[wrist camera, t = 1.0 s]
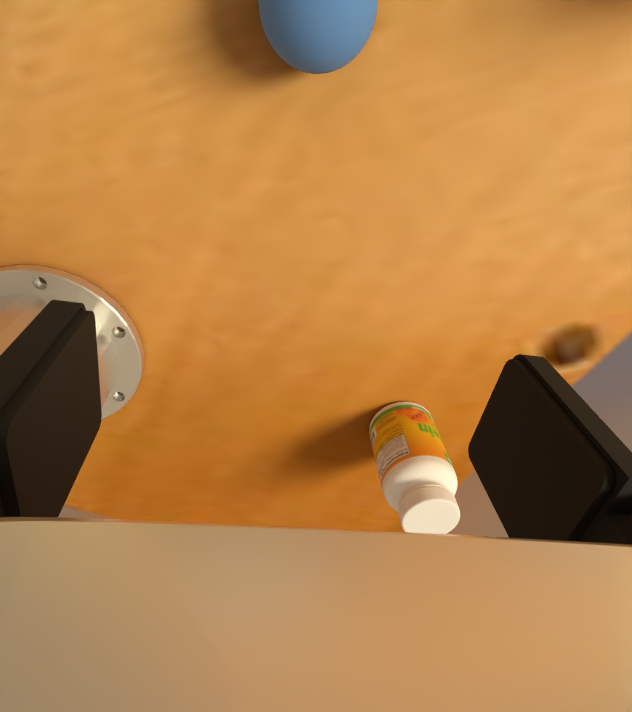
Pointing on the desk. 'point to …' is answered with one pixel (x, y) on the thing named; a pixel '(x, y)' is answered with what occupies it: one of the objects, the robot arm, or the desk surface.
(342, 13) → the ball
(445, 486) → the supplement bottle
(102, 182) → the desk surface
